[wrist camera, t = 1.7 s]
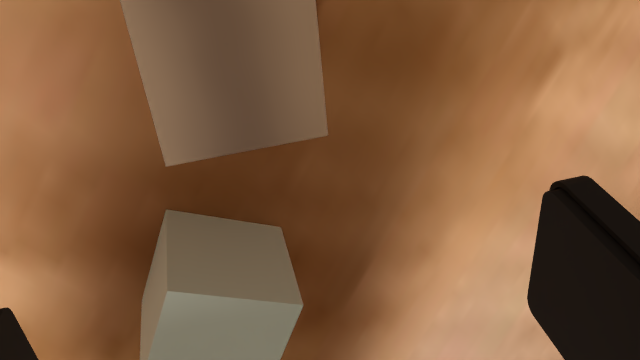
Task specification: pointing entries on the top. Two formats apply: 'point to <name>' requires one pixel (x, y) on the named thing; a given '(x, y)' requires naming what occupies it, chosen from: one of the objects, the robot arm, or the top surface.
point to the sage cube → (218, 291)
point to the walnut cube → (228, 73)
